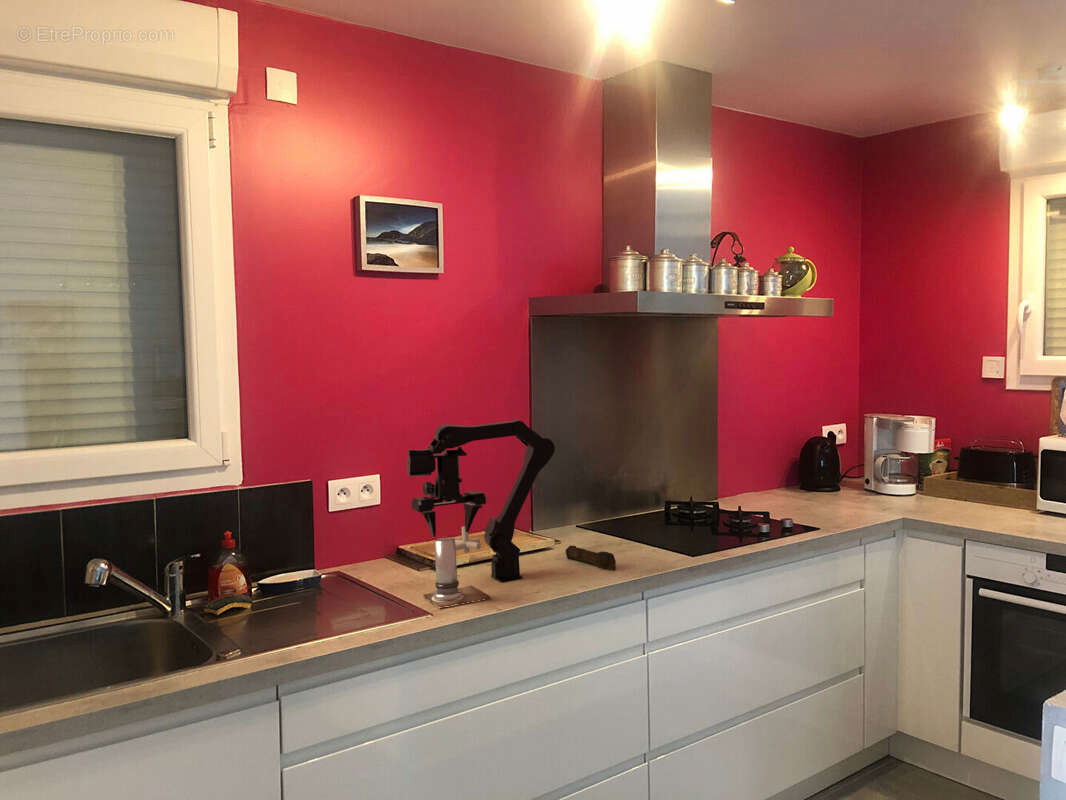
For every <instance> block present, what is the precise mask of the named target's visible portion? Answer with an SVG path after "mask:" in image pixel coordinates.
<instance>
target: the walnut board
mask: <svg viewBox="0 0 1066 800" xmlns="http://www.w3.org/2000/svg"><path fill="white" fill-rule="evenodd" d="M458 589H460V590H461V591H462V597H461V598H460V599H457V600H453V601H437V600H435V599H434V594H433V593H434V592H430V593H429V592H428V593H426V594H425V593H424V594H423V596H422V597H425V598H426V599H428V600H430V601H431V602H433V603H434V604H436V605H437V606H438V607H444V606H451V605H455V604H462V603H467V602H472V601H478V600H483V599H489V600H491V595H489V594H487V593H485V592H484V591H482V590H480V589H479V588H477V587H475V586H474V585H468V586H463V587H458ZM426 599H425V600H426Z"/></svg>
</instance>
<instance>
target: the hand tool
mask: <svg viewBox="0 0 1066 800" xmlns="http://www.w3.org/2000/svg"><path fill="white" fill-rule="evenodd" d="M565 554H566V558H567V559H568V560H572V561H573V560H576V561H580V562H584V563H587V564H591V565H594V566H597V567H598V569H600V570H601V569H602V570H607V571H616V568H617V566H616V564H617V563H616V558H615V555H614V553H612V552H608V551H603V550H602V551H598V552H597V551H592V550H587V549H584V548H581V547H577V546H576V545H569V546H568V547H567V548H566V549H565Z"/></svg>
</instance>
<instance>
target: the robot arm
mask: <svg viewBox="0 0 1066 800" xmlns="http://www.w3.org/2000/svg"><path fill="white" fill-rule="evenodd" d="M513 436H514V437H515V438H516V439H517V440H519V441H520V442H521V444H523V445H525V446H526V448H525V450H524V456H523V465H522V467H521V469H520V471H519V473H518V476H517V478H516V480H515V482H514V484H513V486H512V489H511V490H510V493H509V495H508V497H507V499H506V501H505V503H504V505H503V507H502V509H501V511H500V513H499V514H498V515H497V516H496V517H495V519H494V517H492V516H491V517H489V520H488V523H487V525H486V527H485V528H484V529H483V531H484V535H483V539H484V542H485V544H487V546H488V547H489V548H490V549H491V550H492V551H493V552H494V553H495V554H492V561H491V562H490V563H491V564H490V565H491V567H490V568H491V569H490V570H491V575H490V578H492V579H495V580H496V581H498V582H501V583H503V582H508V581H514V580H519V579H523V578H524V577H523V575H522V574H521V571H520V552H521V549H520V548H519V547H518V546H517V545H516V544H514V543H513V542H512V540H513V537H514V534H515V527H516V521H517V519H518V516H519V514H520V512H521V510H522V509H523V506H524V504H525V502H526V501H527V497H528V495H529V493H530V491H531V489H532V487H533V485H534V483H535V480H536V479H537V477H538V474H539V472H540V471H542V470H543V468H545V467H546V465H547V464H549V462H550V460H551V459H552V458H553V455H554V454H555V451H556V447H555V444H554V442H553V441H552V439H550V438H547V437H544V436H541V435H539V433H537V432H536V431H534V430H533V429H532V428H530V427H528V426H527V425H526V423H525V422H524V421H522V420H520V419H512V420H509V421H502V422H501V421H500V422H493V423H492V422H491V423H486V424H477V425H462V424H461V425H460V424H446V423H445V424H441V425H439V426H437V428H436V429H435V432H434V438H433V439H432V441H431V442H430V444H429V445H428V447H427V448H426V449H425V448H424V449H423V448H422V449H412V448H411V449H410V448H409V449H408V450H407V453H408V454H407V461H406V470H407V471H406V472H407V476H408V477H409V478H410V477H423V476H432V473H435V471H436V473H437V475H436V476H437V477H435V480H434V481H435V482H434V483H432V481H426V482H423V483H422V492H423V496H421V497H418V496H417V497H413V498H412V500H411V509H412V510H414V511H416V512H417V513H419V514H421V515H422V516H423V517H424V519H425V521H426V523H427V525H428V529H429V532H430V534H431V537H433V538H436V534H437V528H436V527H437V523H436V522H437V521H436V518H437V516H436V511H434V510H433V509H434V508H435V507H440V506H441V507H442V506H451V505H457V504H463V508H464V526H465V532H468V533H469V531H470V528H471V526H472V524H473V521H474V519H475V517H476V516H477V513H478V511H479V509H481V508H482V509H483V505H486V504H487V503H488V501H487V495H486V493H484V492H482V491H479V490H473V491H472V490H470V491H465V492H464V494H463V493H461V483H463V479H462V477H461V476H460V475H461V474H460V473H461V472H460V470H461V469H460V457H465V456H468V453H467V452H466V451H464V449H463V448H462V447H461V446H463V445H466V444H468V443H471V442H474V441H482V440H483V441H484V440H490V439H491V440H492V439H499V438H506V437H513ZM428 496H430V497H428Z"/></svg>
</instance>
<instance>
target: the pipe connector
mask: <svg viewBox="0 0 1066 800" xmlns="http://www.w3.org/2000/svg"><path fill="white" fill-rule="evenodd" d="M455 545H456V552H457V551H460V550H462V554H463V553H468V552H469V553H470V549H472V550H474V549H475V550H480V549H481V547H482V545H481V539H480V538H479V537H474V538H472V539H471V538H469V532H465V525H464V526H461V539H456V538H455Z"/></svg>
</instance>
